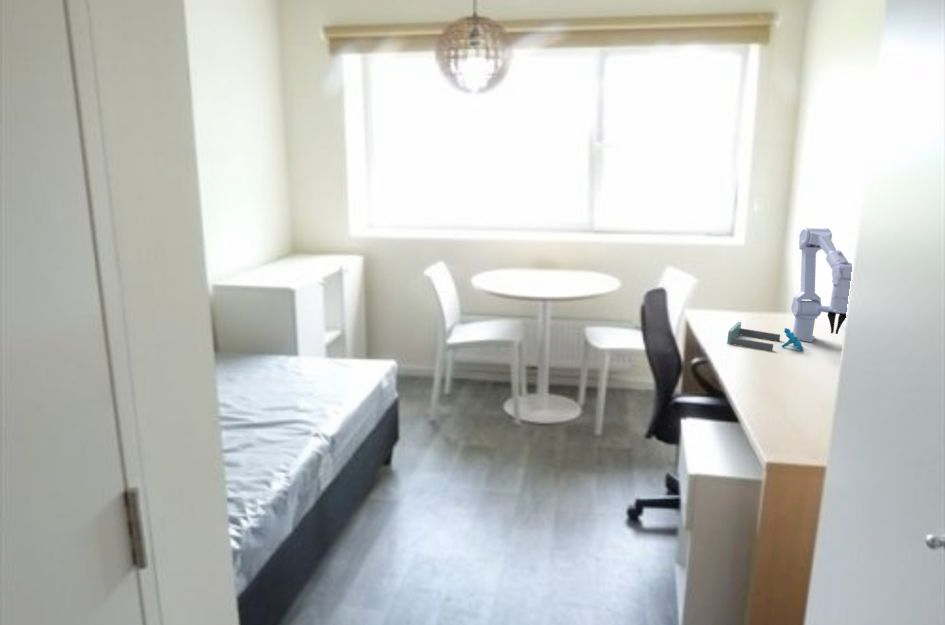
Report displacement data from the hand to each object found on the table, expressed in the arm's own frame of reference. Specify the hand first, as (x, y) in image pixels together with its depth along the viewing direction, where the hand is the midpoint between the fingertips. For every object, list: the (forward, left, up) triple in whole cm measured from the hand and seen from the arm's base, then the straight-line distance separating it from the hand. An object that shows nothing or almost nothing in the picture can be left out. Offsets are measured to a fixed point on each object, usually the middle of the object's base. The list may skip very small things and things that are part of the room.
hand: (834, 333), depth 254 cm
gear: (0, -13, -9) cm, 16 cm away
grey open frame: (0, -27, -8) cm, 28 cm away
